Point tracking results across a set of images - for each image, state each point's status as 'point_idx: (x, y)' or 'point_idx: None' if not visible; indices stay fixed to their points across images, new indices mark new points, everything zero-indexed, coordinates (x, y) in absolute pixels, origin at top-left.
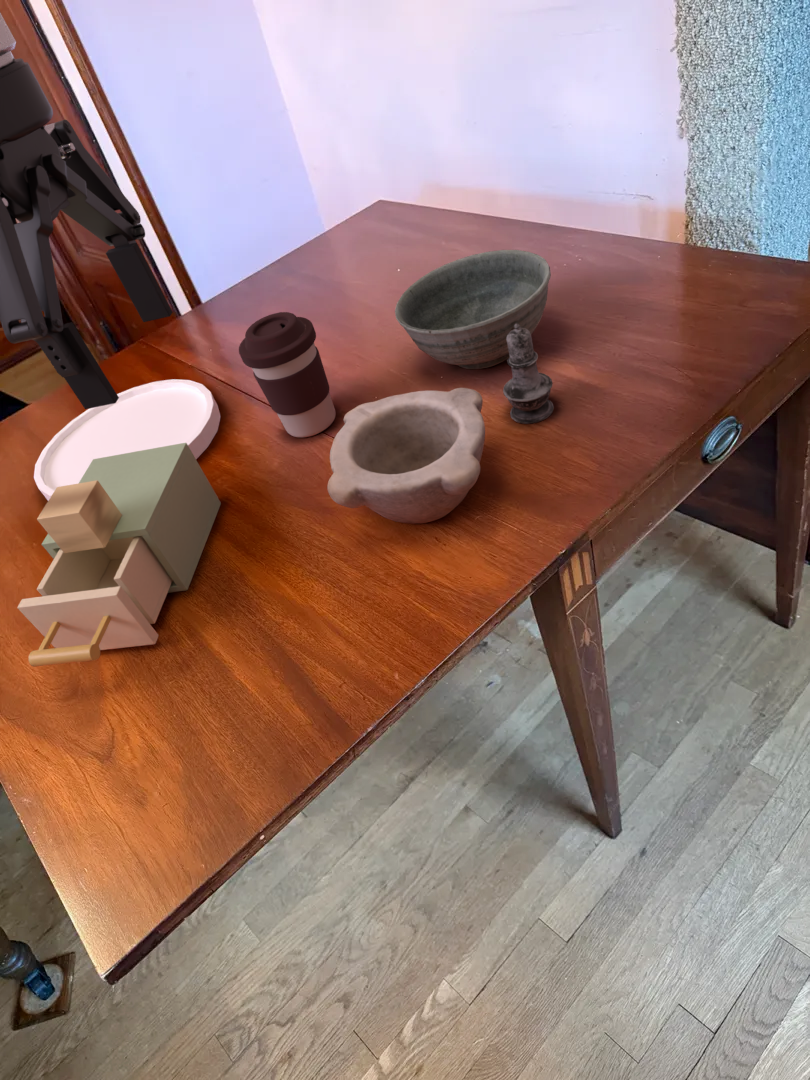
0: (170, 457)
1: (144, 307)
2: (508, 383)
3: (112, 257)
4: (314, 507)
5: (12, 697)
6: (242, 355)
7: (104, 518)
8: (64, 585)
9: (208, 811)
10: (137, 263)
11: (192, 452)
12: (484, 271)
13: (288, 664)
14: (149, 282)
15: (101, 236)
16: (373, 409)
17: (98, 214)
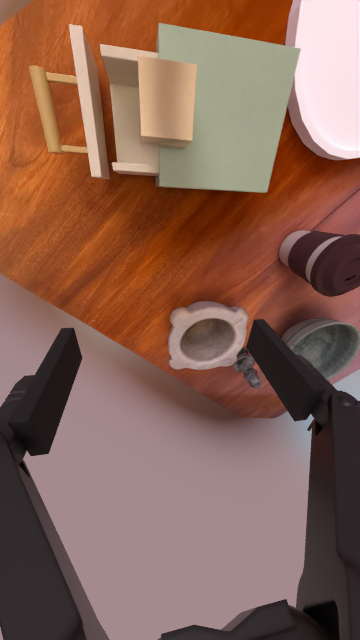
0: (251, 181)
1: (259, 338)
2: (250, 357)
3: (305, 387)
4: (210, 265)
5: (40, 2)
6: (339, 244)
7: (163, 144)
8: (127, 70)
9: (3, 249)
10: (283, 394)
11: (312, 145)
12: (342, 354)
13: (96, 272)
14: (267, 375)
15: (329, 421)
16: (237, 326)
17: (309, 505)
